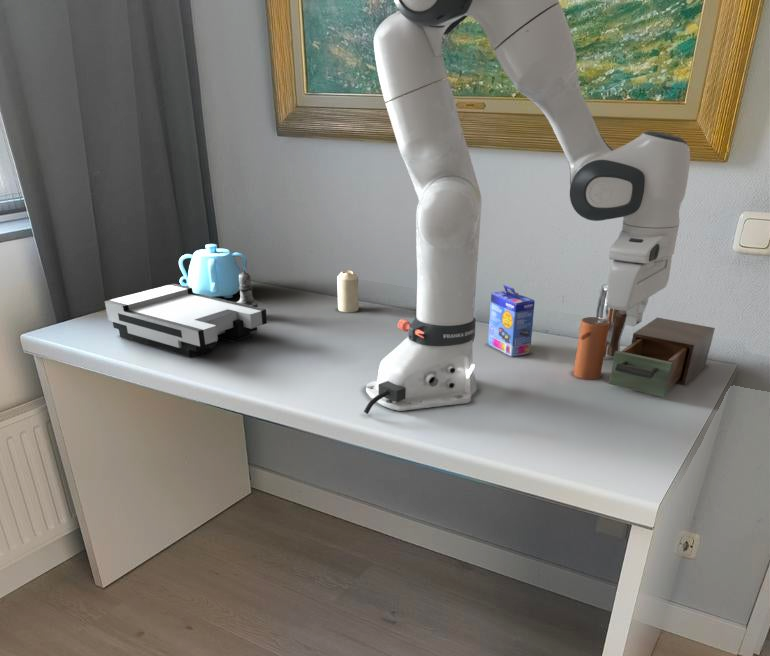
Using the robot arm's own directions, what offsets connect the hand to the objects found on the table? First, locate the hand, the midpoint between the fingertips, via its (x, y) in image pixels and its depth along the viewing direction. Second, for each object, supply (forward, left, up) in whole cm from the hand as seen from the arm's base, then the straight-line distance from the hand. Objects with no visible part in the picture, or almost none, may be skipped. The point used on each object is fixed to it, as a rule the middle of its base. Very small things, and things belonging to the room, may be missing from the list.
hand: (633, 324), depth 126 cm
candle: (-16, +84, -17) cm, 87 cm away
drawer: (+13, +6, -16) cm, 21 cm away
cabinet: (+26, +12, -17) cm, 33 cm away
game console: (-60, +81, -17) cm, 102 cm away
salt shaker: (-42, +90, -17) cm, 101 cm away
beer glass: (+20, +25, -17) cm, 36 cm away
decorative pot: (-43, +115, -17) cm, 124 cm away
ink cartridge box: (+3, +38, -17) cm, 42 cm away
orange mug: (+6, +17, -17) cm, 24 cm away
